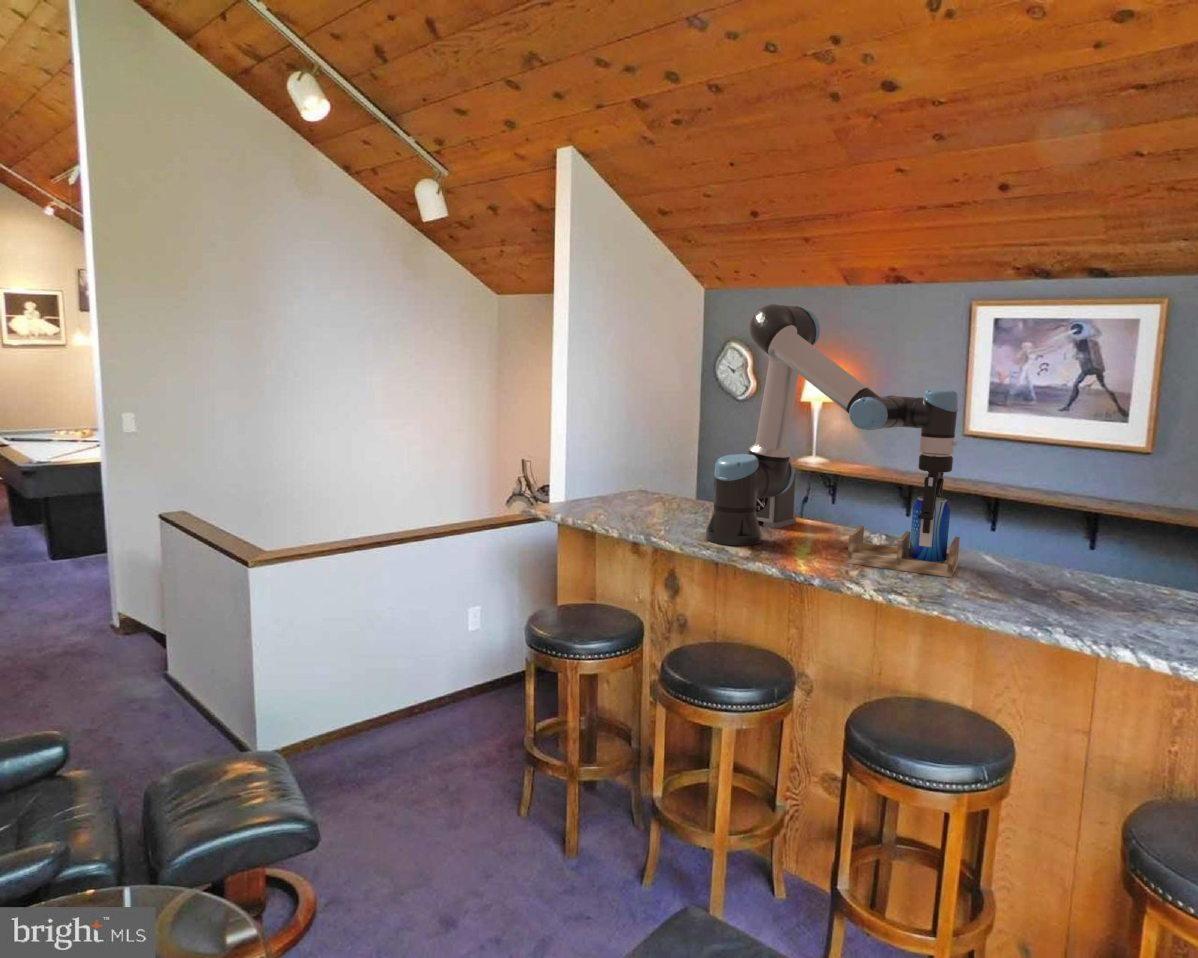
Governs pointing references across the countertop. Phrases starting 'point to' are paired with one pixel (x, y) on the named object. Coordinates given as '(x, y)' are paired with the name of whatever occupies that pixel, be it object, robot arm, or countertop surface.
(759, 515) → the alarm clock
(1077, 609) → the countertop surface
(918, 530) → the beer can
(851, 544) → the rack
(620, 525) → the countertop surface
